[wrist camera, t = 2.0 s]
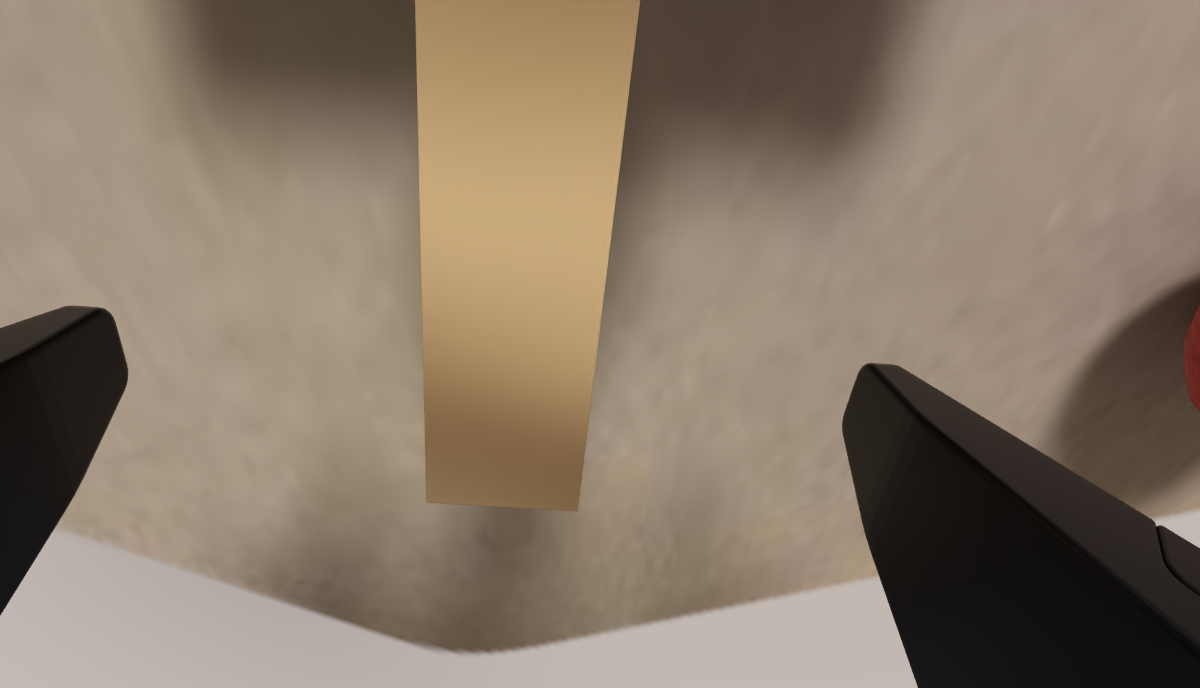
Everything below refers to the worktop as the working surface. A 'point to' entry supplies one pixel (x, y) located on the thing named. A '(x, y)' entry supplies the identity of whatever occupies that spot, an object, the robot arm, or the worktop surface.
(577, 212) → the tan rectangular bar
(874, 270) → the worktop surface
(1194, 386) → the onion
